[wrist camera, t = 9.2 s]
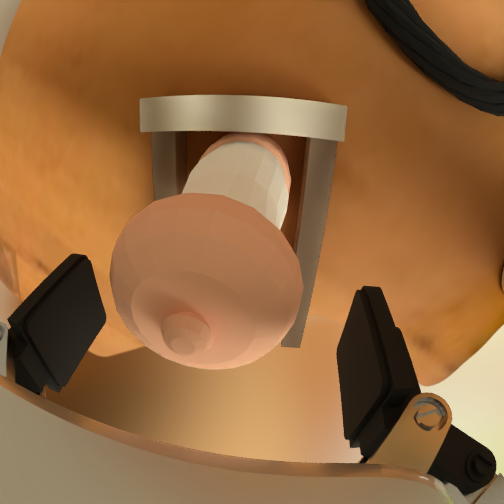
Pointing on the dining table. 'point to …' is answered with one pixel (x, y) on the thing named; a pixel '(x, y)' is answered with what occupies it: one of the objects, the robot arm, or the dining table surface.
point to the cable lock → (437, 56)
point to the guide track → (258, 121)
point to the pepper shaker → (213, 260)
